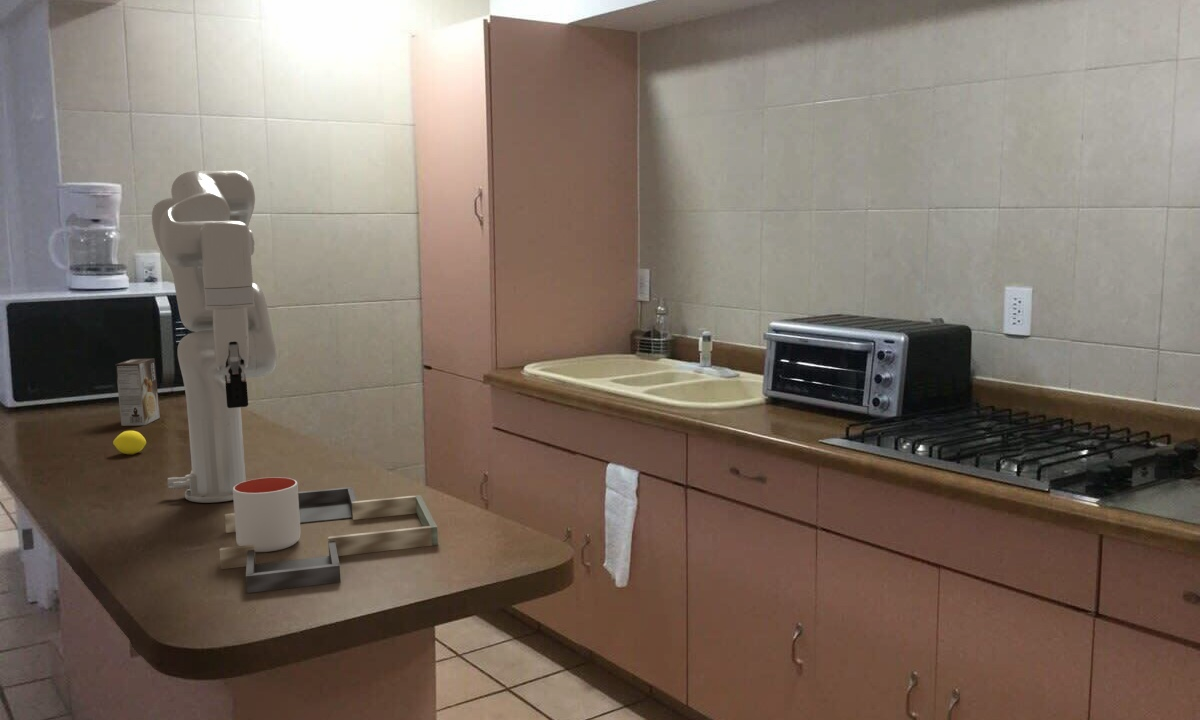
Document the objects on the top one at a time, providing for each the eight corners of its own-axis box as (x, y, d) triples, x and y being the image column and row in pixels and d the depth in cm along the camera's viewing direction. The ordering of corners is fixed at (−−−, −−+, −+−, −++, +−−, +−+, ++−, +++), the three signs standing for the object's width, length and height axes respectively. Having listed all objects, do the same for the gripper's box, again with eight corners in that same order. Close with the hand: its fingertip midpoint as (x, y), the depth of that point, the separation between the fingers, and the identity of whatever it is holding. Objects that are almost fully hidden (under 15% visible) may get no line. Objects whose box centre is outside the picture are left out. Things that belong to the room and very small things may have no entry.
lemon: (143, 452, 242) (145, 428, 242) (147, 456, 238) (149, 432, 237) (110, 452, 238) (112, 428, 238) (113, 456, 234) (115, 432, 233)
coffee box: (136, 418, 278) (131, 358, 276) (160, 418, 278) (155, 358, 276) (120, 426, 269) (114, 363, 267) (145, 425, 269) (140, 363, 267)
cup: (242, 558, 165) (238, 496, 164) (232, 541, 174) (228, 482, 173) (307, 548, 170) (303, 487, 168) (294, 531, 179) (290, 474, 177)
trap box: (217, 596, 149) (215, 576, 149) (229, 511, 191) (227, 495, 190) (449, 569, 159) (449, 549, 158) (412, 494, 200) (412, 478, 200)
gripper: (205, 296, 178) (213, 396, 180) (204, 302, 162) (212, 412, 164) (252, 294, 181) (259, 393, 183) (255, 300, 164) (263, 408, 167)
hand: (237, 402), depth 173 cm, fingers open, 9 cm apart
